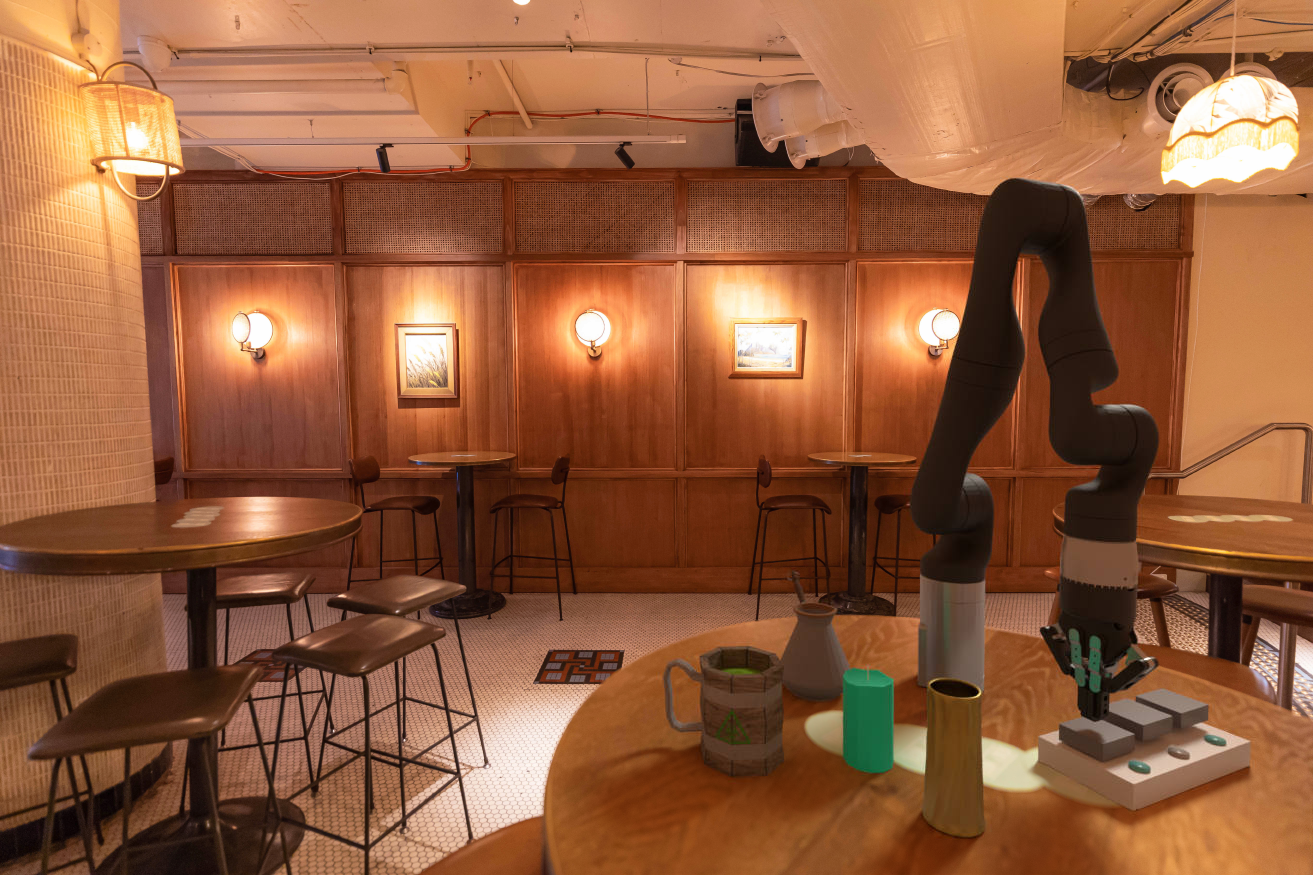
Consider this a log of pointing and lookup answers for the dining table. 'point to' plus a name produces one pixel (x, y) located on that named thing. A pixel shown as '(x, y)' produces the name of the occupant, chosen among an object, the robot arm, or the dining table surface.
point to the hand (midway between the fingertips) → (1092, 718)
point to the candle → (868, 720)
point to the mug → (736, 709)
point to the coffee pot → (813, 652)
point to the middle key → (1139, 719)
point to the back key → (1176, 707)
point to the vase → (954, 758)
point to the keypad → (1151, 764)
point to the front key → (1096, 738)
